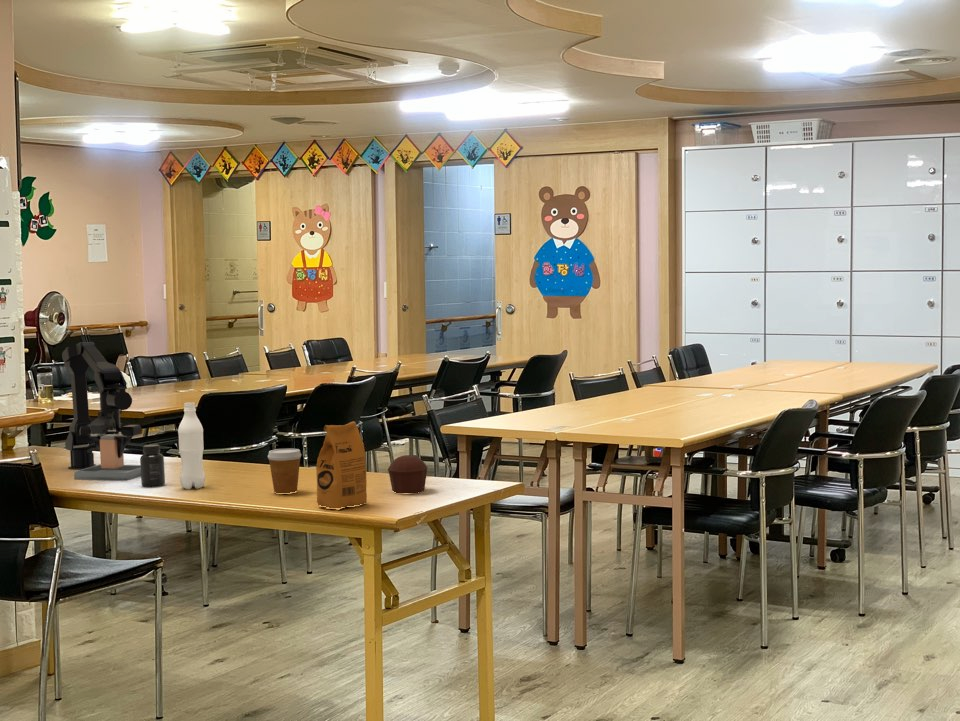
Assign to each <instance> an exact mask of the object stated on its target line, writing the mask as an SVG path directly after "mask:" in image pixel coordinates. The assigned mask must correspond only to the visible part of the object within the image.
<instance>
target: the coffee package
mask: <svg viewBox="0 0 960 721" xmlns="http://www.w3.org/2000/svg"><path fill="white" fill-rule="evenodd" d="M323 431H324V432H326V436H325V438H324V440H323V445H322V447H321V449H320V451H319V453H318V457H317V460H316V467H315V470H316V471H315V472H316V503H317V505H318V506H319V505H321V506H326V507H329V508H341V507H347V506H354V505H360V504H363V505H365V504H364V503H366V504H367V501H368V494H367V465H366V464H367V462H366V460H367V459H366V451H365V444H364V442H363V439H362V436H361V434H360V430H359V428H358V426H357V423H356V421H350V422H348V423H347V424H343V425H341V424H339V425H336V424H335V425H334V424H330V425H328V424H325V425H324V427H323Z"/></svg>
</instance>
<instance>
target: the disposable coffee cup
mask: <svg viewBox="0 0 960 721" xmlns="http://www.w3.org/2000/svg"><path fill="white" fill-rule="evenodd" d="M301 457H302V453H301V450H300V449H299V448H277V449H272V450H269V451H268V455H267V459H268V460H269V462H268V463H269V467H270V474H271V481H272V486H273V493H274V492H276V493H290V492H295V491H297V492H298V486H299V475H300V474H299V473H300V464H301V463H300V461H301Z"/></svg>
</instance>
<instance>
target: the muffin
mask: <svg viewBox="0 0 960 721" xmlns="http://www.w3.org/2000/svg"><path fill="white" fill-rule="evenodd" d="M387 472H388V474H389V480H390V486H391V491H394V492H396V493H416V494H419V493H418V492H421V493H423V492H425V487H426V481H427V472H428V466H427V464H426V463H425V462H424V460H422V459H421V458H420V457H418V456H416V455H411V454H404V455H400V456H397V457H396V458H395V459H394V460H392V462H391V464H390V465H389V466H388V468H387ZM422 491H423V492H422ZM394 492H393V493H394ZM396 493H395V494H396Z"/></svg>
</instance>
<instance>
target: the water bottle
mask: <svg viewBox="0 0 960 721" xmlns="http://www.w3.org/2000/svg"><path fill="white" fill-rule="evenodd" d="M183 406H184V408H183V412H184V414H183V417H182V420H181V421H180V424H179V426H178V429H177V434H178V451H179V455H180V460H181V461H180V462H181V468H180V475H179V481H180V482H179V483H180V486H181V487H182V488H183V489H186V490H191V489H192V487H194V488H195V489H196V490H197V489H198V488H199V489H201V488H202V487H203V486H204V484H205V482H206V475H205V469H204V467H203V466H204V465H203V454H204V450H205V449H204V428H203V425H202V423H201V421H200V419H199V418H198V416H197V413H196V411H197V409H196V402H194V401H189V402H184V405H183Z"/></svg>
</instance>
